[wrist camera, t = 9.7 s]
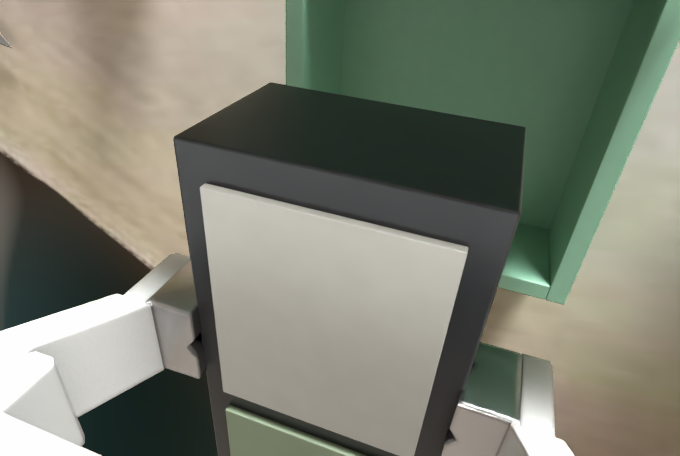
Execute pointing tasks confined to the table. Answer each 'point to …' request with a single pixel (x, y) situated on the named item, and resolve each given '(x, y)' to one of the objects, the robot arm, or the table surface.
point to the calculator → (343, 266)
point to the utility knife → (4, 41)
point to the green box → (508, 94)
